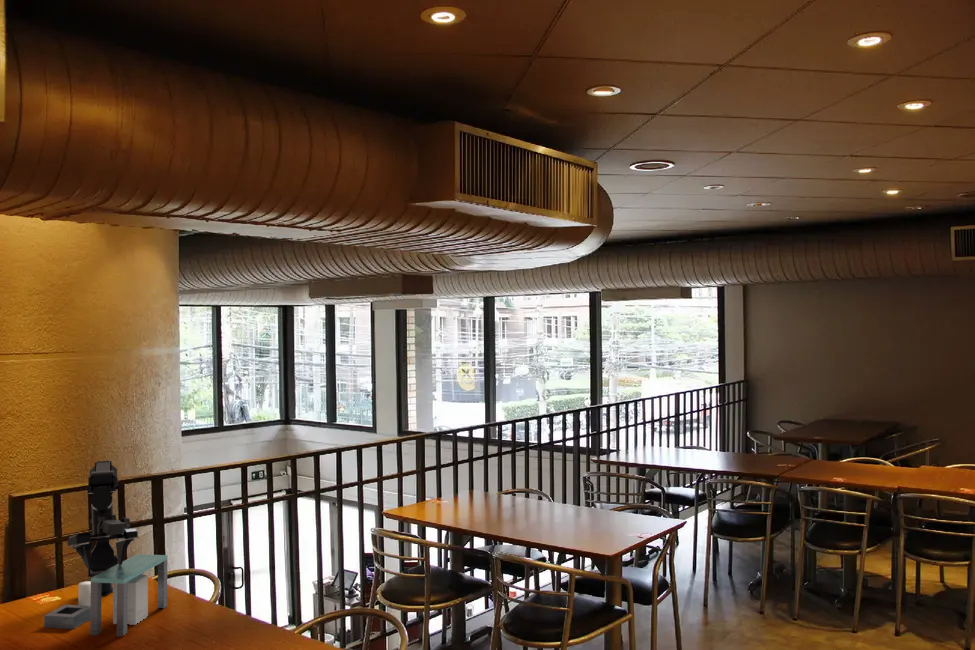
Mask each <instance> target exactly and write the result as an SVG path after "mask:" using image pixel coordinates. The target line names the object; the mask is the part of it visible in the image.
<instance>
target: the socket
mask: <svg viewBox="0 0 975 650" xmlns="http://www.w3.org/2000/svg"><path fill="white" fill-rule="evenodd" d="M90 609H91V606H83V605H78V604H63V605H61V606H59V607H58V608H56V609H53V610H52V611H50V612H49V613H47V614H44V616H43V627H44V628H45V629H62V630H63V629H64V630H65V629H67V630H75V629H76V628H78V627H79V626H82V625H83V624H85V623H87V622H88V621H89V620H90Z"/></svg>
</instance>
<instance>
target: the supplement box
mask: <svg viewBox="0 0 975 650" xmlns="http://www.w3.org/2000/svg"><path fill="white" fill-rule="evenodd" d="M148 580H149V575H147V574H145V575H144V574H143V575H138V576H137V577H135V578H133V579H131V580H130V581H128V613H127V624H129V625H130V626H131V625H133V626H136V625H138V624H140V623H141V622H142V621H144V620H145V619H146V618H148V617H147V616H149V581H148ZM112 588H113V592H112V624H113V625H117V583H112ZM143 619H144V620H143ZM140 621H141V622H140ZM137 623H138V624H137Z"/></svg>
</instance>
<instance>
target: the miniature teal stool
mask: <svg viewBox="0 0 975 650" xmlns="http://www.w3.org/2000/svg"><path fill="white" fill-rule="evenodd" d="M168 556H169V555H167V554H143V553H136V554H134V555H133V556H131V557H129V558H128V559H125V560H123V562H122V565H119V564H117V565H115V566H113V567H111V568H109V569H107V570H105V571H104V572H102V573H100V574H98V575H96V576H94V577H92V576H91V577H90V581H91V609H90V621H89V623H90V625H89V627H90V629H89V630H90V631H89V632H90V633H89V635H90V636H98V635H99V634H101V633H102V595H101V584H102V583H112V584H113V583H117V624H116V637H119V636H123V635H125V634H126V633H127V634H128V625H127V613H128V581H130V580H131V579H133V578H135V577H137V576H138V575H144V573H146V572H147V571H149V570H151V569H153V568H154V567H156V566H157V609H158V608H165V607H166V606H167V607H168ZM167 607H166V608H167ZM166 608H165V609H166ZM125 636H126V635H125Z"/></svg>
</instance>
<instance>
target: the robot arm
mask: <svg viewBox="0 0 975 650" xmlns="http://www.w3.org/2000/svg"><path fill="white" fill-rule="evenodd" d="M112 461H113V460H111V461H110V460H108V459H107V460H97V461H95V462H94V466H93V467H92V468H91V469H89V474H88V475H89V476H88V481H87V482H88V483H87V494H88V495H91V494H92V495H91V498H90V504H91V519H90V518H89V523H90V524H92V532H85V533H77V534H73V535H70V536H69V537H68V539H67V547H71V548H72V550H75V551H76V552H77V554H78V555H79V556H80V557H81V559H82V562H83V563H84V565H85V567H86V568H87V570H88V572H87V577H88V578H92V577H94V576H96V575H98V574H100V573H102V572H104V571H105V570H107V569H109V568H111V567H113V566H115V565H117V564H119V565H122V562H123V561H124V559H125V554H126V552H127V549H128V548H129V546H130V544H131V542H134V541H135V539H137V538H139V532H138V530H137V529H136V528H131V520H130V518H129V517H121V518H120V519H118V520H117V516H116V514H114V508H113V507H114V506H113V505H114V504H113V502H114V501H113V493H116V492H117V490H119V477H118V468H116V466H114V465H113V462H112ZM110 540H116V541H117V542H115V548H116V554H115V549H114V547H113V546H112V545H111V543H110ZM90 542H92V543H93V542H96V544H95V546H94V547H93V549H92V550H91V548H92V545H93V544H92V543H90ZM112 593H113V583H102V584H101V596H108V595H110V594H112Z"/></svg>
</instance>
